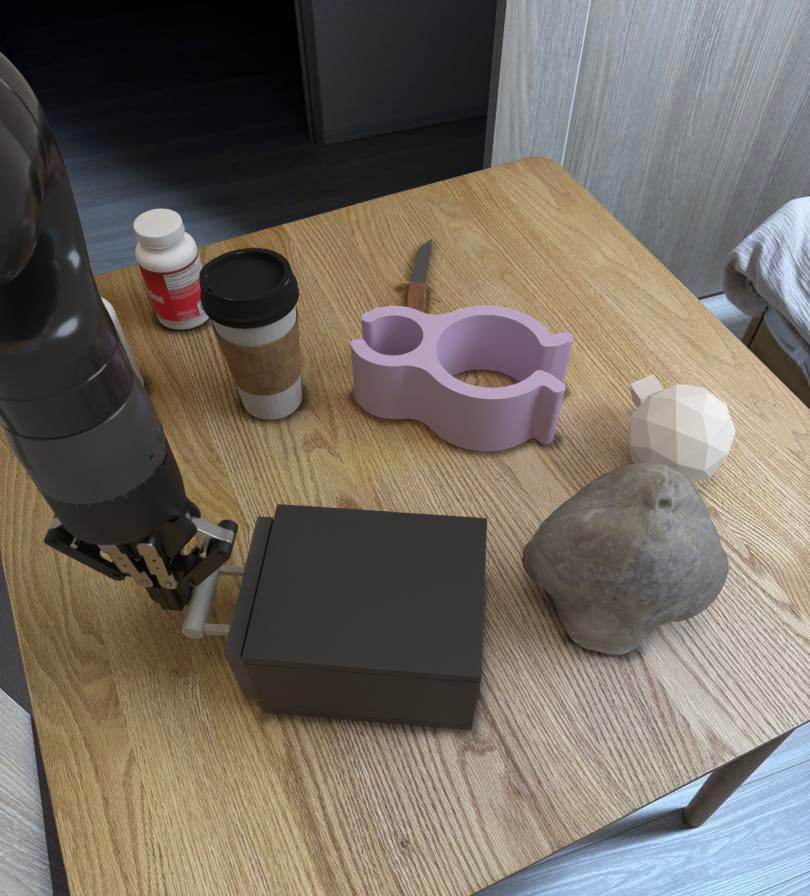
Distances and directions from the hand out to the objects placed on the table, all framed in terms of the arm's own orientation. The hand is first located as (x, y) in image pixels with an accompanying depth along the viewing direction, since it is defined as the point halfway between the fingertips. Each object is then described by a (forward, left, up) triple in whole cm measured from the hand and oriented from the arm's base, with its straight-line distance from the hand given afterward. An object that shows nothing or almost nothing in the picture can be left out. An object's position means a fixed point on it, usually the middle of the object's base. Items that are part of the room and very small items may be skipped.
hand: (177, 599), depth 56 cm
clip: (+33, +6, -5) cm, 34 cm away
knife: (+41, +22, -5) cm, 47 cm away
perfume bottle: (+44, -12, -5) cm, 46 cm away
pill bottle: (+20, +35, -5) cm, 40 cm away
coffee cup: (+19, +18, -5) cm, 27 cm away
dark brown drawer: (+8, -8, -4) cm, 12 cm away
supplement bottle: (+8, +29, -5) cm, 30 cm away
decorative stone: (+28, -19, -5) cm, 34 cm away
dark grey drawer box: (+11, -10, -5) cm, 16 cm away
